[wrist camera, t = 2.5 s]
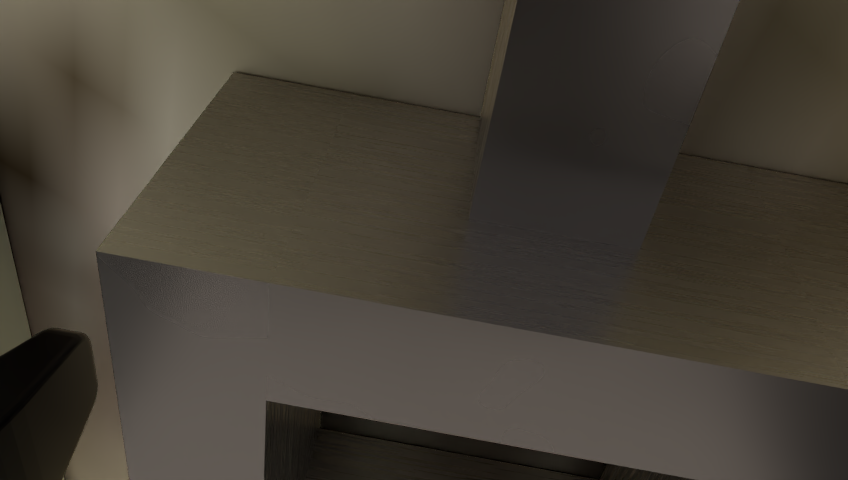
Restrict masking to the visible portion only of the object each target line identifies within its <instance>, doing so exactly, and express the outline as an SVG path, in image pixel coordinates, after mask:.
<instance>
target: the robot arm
mask: <svg viewBox="0 0 848 480" xmlns="http://www.w3.org/2000/svg"><path fill="white" fill-rule="evenodd" d="M97 388H98V383H97V376H96V370H95V364H94V358H93V352H92V346H91V342H90V339H89V338H88V336H87V335H86V334H84V333H81V332H76V331H70V330H65V329H59V328H49V329H46V330H44V331H42V332H40V333H38V334H36V335H35V336H33V337H31V338H30V339H28V340H26V341H25V342H23V343H21V344H20V345H18V346H16V347H14V348H13V349H11V350H9V351H8V352H6V353H4V354H3V355H1V356H0V480H62V479H63V477H64V475H65V472H66V470H67V467H68V465H69V463H70V460H71V458H72V455H73V453H74V451H75V448H76V446H77V444H78V441H79V439H80V436H81V434H82V432H83V429H84V427H85V425H86V422H87V420H88V417H89V415H90V413H91V410H92V408H93V405H94V403H95V399H96V395H97Z"/></svg>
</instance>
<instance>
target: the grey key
mask: <svg viewBox="0 0 848 480" xmlns="http://www.w3.org/2000/svg"><path fill="white" fill-rule="evenodd" d="M739 1H740V0H505V1H504V6H503V10H502V15H501V20H500V25H499V29H498V34H497V39H496V43H495V48H494V53H493V58H492V62H491V67H490V72H489V77H488V81H487V86H486V91H485V95H484V100H483V105H482V110H481V114H480V117H476V116H471V115H465V114H460V113H454V112H449V111H443V110H438V109H432V108H427V107H421V106H416V105H410V104H405V103H400V102H394V101H389V100H383V99H378V98H372V97H367V96H361V95H356V94H350V93H345V92H339V91H334V90H329V89H323V88H318V87H312V86H307V85H301V84H296V83H290V82H285V81H279V80H274V79H269V78H263V77H258V76H252V75H247V74H241V73H236V72H233V74H232V75H231V76H230V78H229V79H228V80H227V82H226V83H225V84H224V85H223V87H222V88H221V89H220V91H219V92H218V93H217V94H216V96H215V97H214V98H213V100H212V101H211V102H210V104H209V105H208V106H207V107H206V109H205V110H204V111H203V113H202V114H201V115H200V117H199V118H198V119H197V120H196V122H195V123H194V124H193V126H192V127H191V128H190V130H189V131H188V132H187V133H186V135H185V136H184V137H183V139H182V140H181V141H180V143H179V144H178V145H177V146H176V148H175V149H174V150H173V152H172V153H171V154H170V156H169V157H168V158H167V159H166V161H165V162H164V163H163V165H162V166H161V167H160V168H159V170H158V171H157V172H156V174H155V175H154V176H153V178H152V179H151V180H150V181H149V183H148V184H147V185H146V187H145V188H144V189H143V191H142V192H141V193H140V194H139V196H138V197H137V198H136V200H135V201H134V202H133V204H132V205H131V206H130V207H129V209H128V210H127V211H126V213H125V214H124V215H123V217H122V218H121V219H120V220H119V222H118V223H117V224H116V226H115V227H114V228H113V230H112V231H111V232H110V233H109V235H108V236H107V237H106V239H105V240H104V241H103V242H102V244H101V245H100V246H99V248H98V249H97V250H96V256H97V263H98V270H99V276H100V283H101V290H102V297H103V304H104V310H105V317H106V324H107V331H108V338H109V344H110V351H111V358H112V365H113V372H114V378H115V385H116V392H117V399H118V406H119V412H120V419H121V426H122V433H123V439H124V446H125V453H126V460H127V467H128V473H129V480H598V479H592V478H587V477H582V476H576V475H571V474H565V473H560V472H554V471H549V470H544V469H538V468H533V467H527V466H522V465H516V464H511V463H506V462H500V461H495V460H489V459H484V458H478V457H473V456H468V455H462V454H457V453H451V452H446V451H440V450H435V449H430V448H424V447H419V446H413V445H408V444H402V443H397V442H391V441H386V440H381V439H375V438H370V437H364V436H359V435H353V434H348V433H343V432H337V431H332V430H326V429H321V428H320V420H321V411H325V412H331V413H336V414H342V415H347V416H352V417H358V418H363V419H369V420H374V421H380V422H385V423H390V424H396V425H401V426H407V427H412V428H418V429H423V430H428V431H434V432H439V433H445V434H450V435H456V436H461V437H466V438H472V439H477V440H483V441H488V442H494V443H499V444H505V445H510V446H515V447H521V448H526V449H532V450H537V451H543V452H548V453H553V454H559V455H564V456H570V457H575V458H581V459H586V460H591V461H597V462H602V463H607V464H606V466H605V468H604V470H603V472H602V475H601V477H600V479H599V480H848V185H847V184H842V183H836V182H831V181H825V180H820V179H814V178H809V177H804V176H798V175H793V174H787V173H782V172H776V171H771V170H765V169H760V168H754V167H749V166H743V165H738V164H733V163H727V162H722V161H716V160H711V159H705V158H700V157H694V156H689V155H683V154H678V153H679V151H680V148H681V146H682V143H683V141H684V138H685V136H686V133H687V131H688V128H689V126H690V123H691V121H692V118H693V116H694V113H695V111H696V108H697V106H698V103H699V101H700V98H701V96H702V93H703V91H704V88H705V86H706V83H707V81H708V78H709V76H710V73H711V71H712V68H713V66H714V63H715V61H716V58H717V56H718V53H719V51H720V48H721V46H722V43H723V41H724V38H725V36H726V33H727V31H728V29H729V26H730V24H731V21H732V19H733V16H734V14H735V11H736V9H737V6H738V4H739Z"/></svg>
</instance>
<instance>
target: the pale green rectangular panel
mask: <svg viewBox="0 0 848 480" xmlns="http://www.w3.org/2000/svg"><path fill="white" fill-rule="evenodd" d="M30 338H31V333H30V329H29V324H28V320H27V316H26V311H25V307H24V303H23V299H22V294H21V290H20V286H19V281H18V277H17V273H16V268H15V264H14V260H13V255H12V251H11V247H10V243H9V238H8V234H7V230H6V225H5V221H4V217H3V212H2V208H1V204H0V356H1V355H3V354H4V353H6V352H8V351H9V350H11V349H13V348H14V347H16V346H18V345H20V344H21V343H23V342H25V341H26V340H28V339H30ZM62 480H65V479H64V477H63V479H62Z"/></svg>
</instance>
